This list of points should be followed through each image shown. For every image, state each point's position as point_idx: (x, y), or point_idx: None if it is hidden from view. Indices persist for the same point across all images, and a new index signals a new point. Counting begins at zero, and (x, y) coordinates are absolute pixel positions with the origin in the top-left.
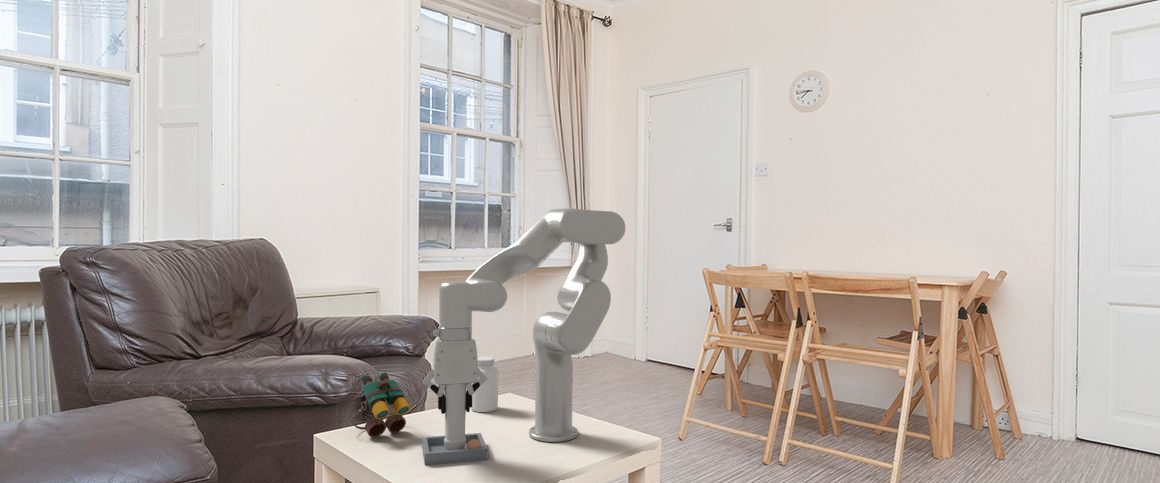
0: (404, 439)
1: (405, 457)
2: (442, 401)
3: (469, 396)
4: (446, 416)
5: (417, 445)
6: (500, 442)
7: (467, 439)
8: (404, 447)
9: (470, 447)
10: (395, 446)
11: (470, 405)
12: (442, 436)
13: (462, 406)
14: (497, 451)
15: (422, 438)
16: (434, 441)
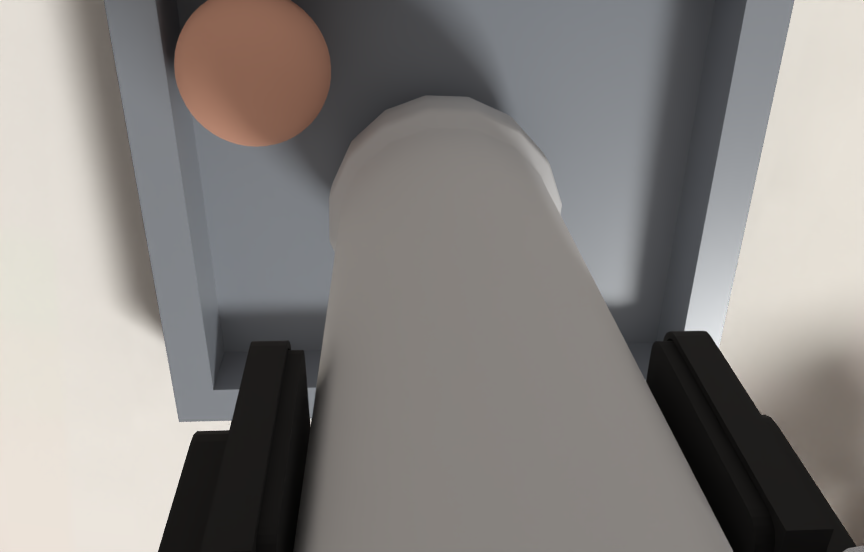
0: None
1: (861, 165)
2: (779, 460)
3: (210, 532)
4: (611, 317)
5: None
6: (21, 351)
7: (308, 362)
8: (802, 383)
9: (292, 7)
10: (858, 414)
11: (223, 440)
12: None
13: (374, 370)
14: (33, 135)
15: None
16: None
